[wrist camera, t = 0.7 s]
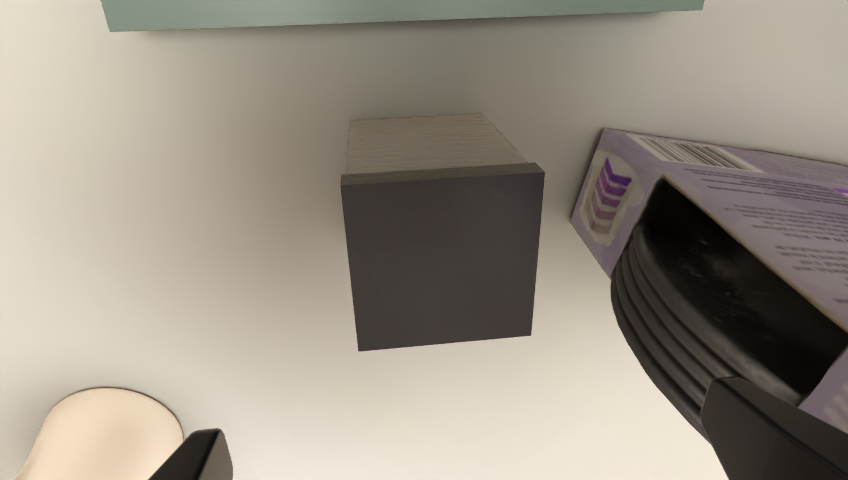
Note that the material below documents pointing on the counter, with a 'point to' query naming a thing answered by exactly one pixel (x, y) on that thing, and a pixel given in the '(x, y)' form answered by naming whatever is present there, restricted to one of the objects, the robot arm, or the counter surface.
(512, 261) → the capped grey block
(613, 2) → the tray
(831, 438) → the robot arm
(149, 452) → the beer glass
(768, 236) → the cake pan box
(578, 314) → the counter surface
